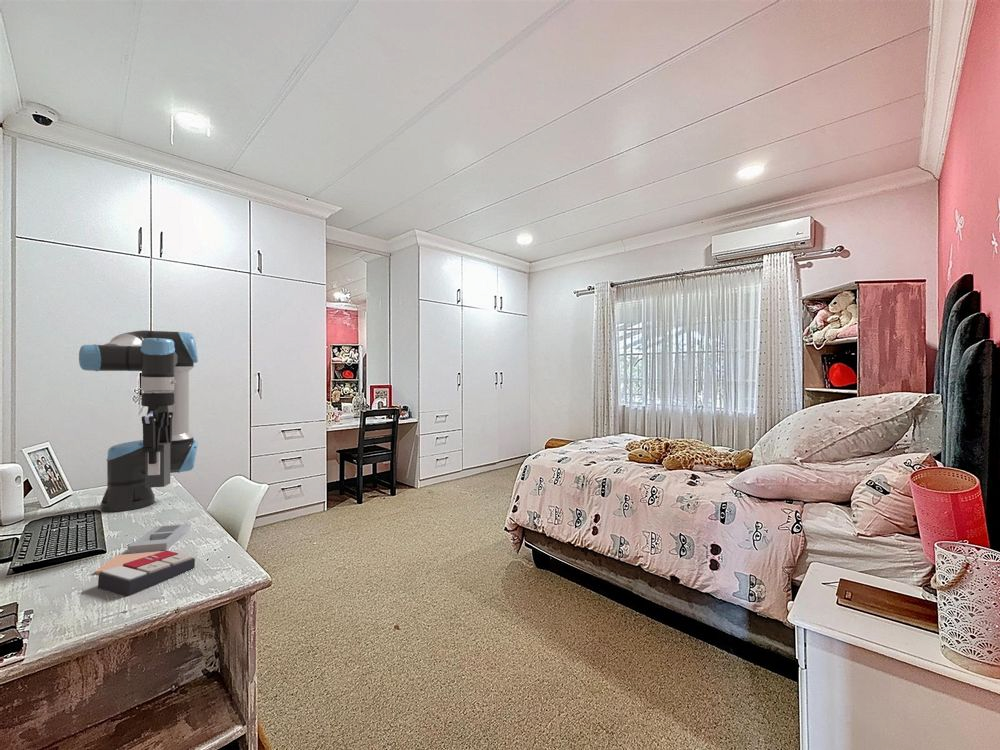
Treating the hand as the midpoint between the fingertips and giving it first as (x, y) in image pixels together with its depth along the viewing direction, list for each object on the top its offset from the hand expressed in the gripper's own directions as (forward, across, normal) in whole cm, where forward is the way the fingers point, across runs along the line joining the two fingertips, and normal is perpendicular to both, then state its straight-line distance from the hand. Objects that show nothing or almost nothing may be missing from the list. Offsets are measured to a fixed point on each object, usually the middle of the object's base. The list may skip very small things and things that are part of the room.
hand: (158, 472), depth 125 cm
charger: (+4, 0, 0) cm, 4 cm away
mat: (+20, -13, +1) cm, 24 cm away
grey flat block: (+21, +2, 0) cm, 21 cm away
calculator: (+21, -24, -8) cm, 32 cm away
